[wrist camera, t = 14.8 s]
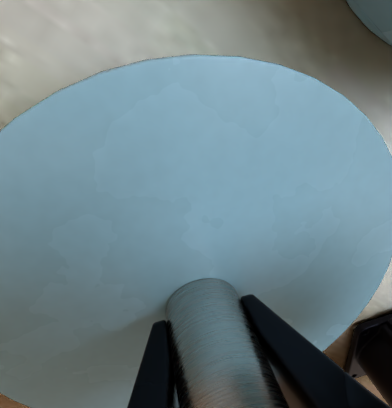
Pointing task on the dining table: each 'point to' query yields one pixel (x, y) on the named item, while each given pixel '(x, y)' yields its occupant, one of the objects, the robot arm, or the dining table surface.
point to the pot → (375, 16)
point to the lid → (183, 228)
